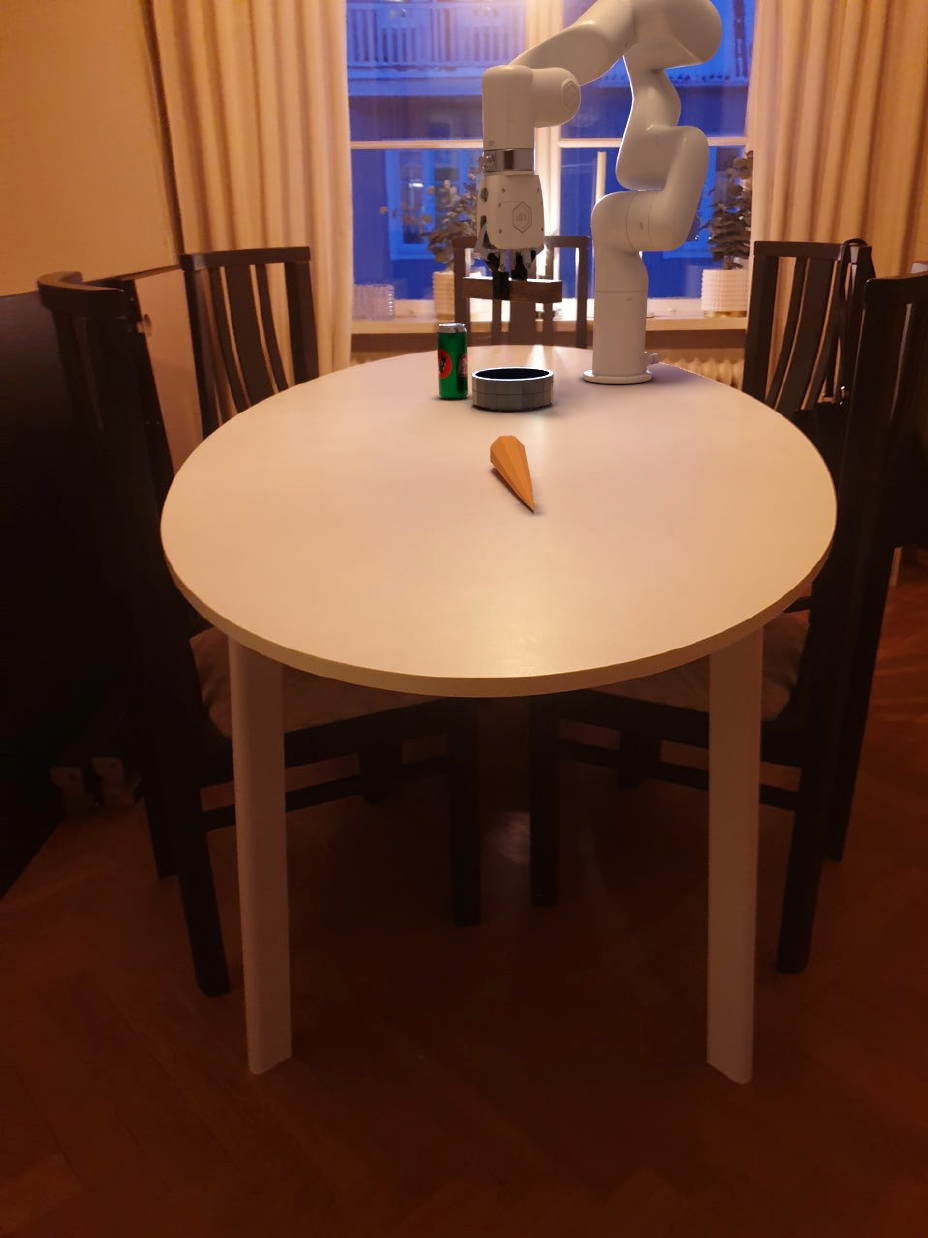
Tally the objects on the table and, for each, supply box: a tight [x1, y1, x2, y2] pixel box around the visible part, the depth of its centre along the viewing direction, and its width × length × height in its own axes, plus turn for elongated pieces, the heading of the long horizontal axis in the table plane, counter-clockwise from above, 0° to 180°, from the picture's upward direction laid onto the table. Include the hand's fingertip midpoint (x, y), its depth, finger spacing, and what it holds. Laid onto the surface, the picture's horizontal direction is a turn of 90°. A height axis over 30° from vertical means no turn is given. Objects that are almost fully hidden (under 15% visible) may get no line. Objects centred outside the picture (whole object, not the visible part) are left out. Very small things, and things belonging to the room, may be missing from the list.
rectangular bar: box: [461, 275, 563, 305], centre depth 138 cm, size 3×20×3 cm, turn 38°
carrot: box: [489, 434, 535, 512], centre depth 102 cm, size 20×4×4 cm, turn 6°
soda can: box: [436, 322, 469, 401], centre depth 152 cm, size 5×5×12 cm
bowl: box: [471, 366, 555, 412], centre depth 147 cm, size 13×13×5 cm
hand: (510, 297), depth 139 cm, fingers closed on rectangular bar, 3 cm apart
